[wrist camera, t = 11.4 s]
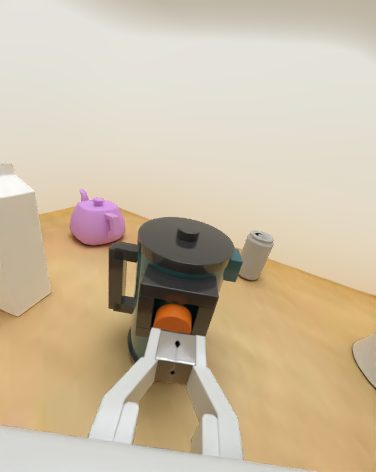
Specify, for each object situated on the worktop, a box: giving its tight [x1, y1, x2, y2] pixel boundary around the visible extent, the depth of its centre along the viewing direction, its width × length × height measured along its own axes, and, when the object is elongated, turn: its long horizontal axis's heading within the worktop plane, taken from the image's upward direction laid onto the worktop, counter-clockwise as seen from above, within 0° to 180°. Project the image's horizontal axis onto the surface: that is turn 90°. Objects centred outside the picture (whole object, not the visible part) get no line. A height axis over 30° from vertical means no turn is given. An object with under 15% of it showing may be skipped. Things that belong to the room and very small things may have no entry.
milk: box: [0, 163, 51, 317], centre depth 28 cm, size 6×6×22 cm
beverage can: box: [239, 231, 274, 280], centre depth 49 cm, size 6×6×12 cm
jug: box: [109, 217, 243, 365], centre depth 26 cm, size 13×16×20 cm
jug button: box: [153, 304, 192, 334], centre depth 18 cm, size 2×3×3 cm, turn 88°
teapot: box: [70, 189, 125, 245], centre depth 53 cm, size 13×20×11 cm
